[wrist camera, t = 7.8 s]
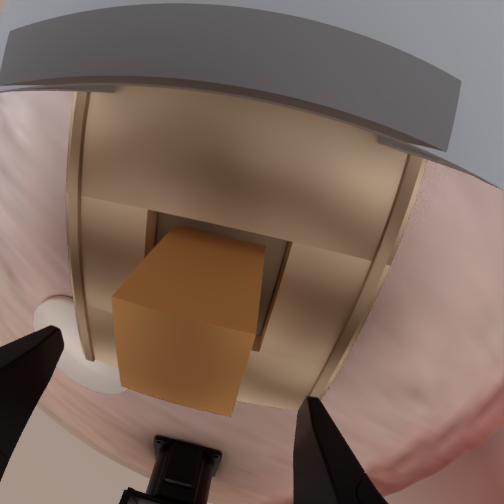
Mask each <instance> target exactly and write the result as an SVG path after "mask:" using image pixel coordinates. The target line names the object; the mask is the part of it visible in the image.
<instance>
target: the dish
mask: <svg viewBox="0 0 504 504" xmlns="http://www.w3.org/2000/svg"><path fill="white" fill-rule="evenodd" d="M33 325H34V331H35V332H36V331H38V330H40V329H43V328H45V327H47V326H50V325H53V326H56V327H58V328H60V329H61V332H62V336H63V340H64V350H63V352H62V354H61V357H60V359H59V361H58V363H57V365H56V367H57V368H58V369H59V370H60V371H61V372H62V373H63V374H64V375H66V376H67V377H68V378H70V379H71V380H73V381H74V382H76V383H77V384H79V385H81V386H83V387H85V388H87V389H89V390H92V391H95V392H98V393H103V394H118V393H121V392H124V391H125V390H126V389H127V388H125V387H122V386H121V382H120V375H119V368H117V367H114V366H111V365H109V364H106V363H103V362H101V361H98V360H96V359H95V360H94V362H92V361H89V360H87V359H86V357H85V355H83V352H82V347H81V342H80V337H79V332H78V327H77V321H76V315H75V309H74V302H73V298H71V297H68V296H52V297H50V298H48V299H46V300H45V301H44V302H43V303H42V304H41V305H40V306H39V307H38V308H37V309H36V311H35V313H34V318H33Z"/></svg>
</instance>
